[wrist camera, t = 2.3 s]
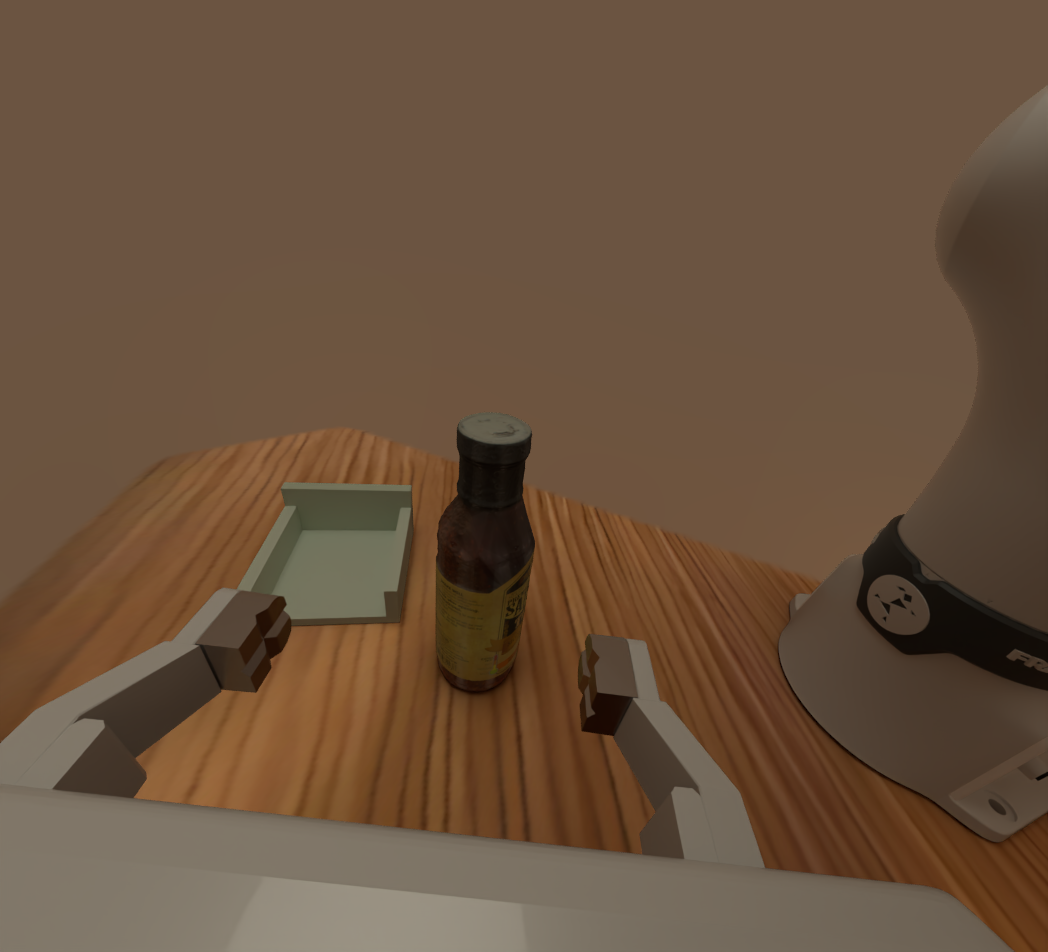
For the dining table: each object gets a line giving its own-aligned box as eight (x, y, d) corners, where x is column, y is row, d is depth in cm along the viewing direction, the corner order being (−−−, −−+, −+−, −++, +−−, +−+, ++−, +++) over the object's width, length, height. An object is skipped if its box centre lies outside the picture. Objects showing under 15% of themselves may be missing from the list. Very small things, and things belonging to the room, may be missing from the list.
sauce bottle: (513, 700, 30) (556, 469, 19) (426, 691, 29) (420, 453, 19) (517, 623, 35) (553, 411, 24) (445, 616, 35) (448, 398, 24)
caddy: (413, 530, 43) (411, 485, 40) (399, 622, 34) (395, 573, 31) (296, 529, 41) (284, 482, 38) (247, 627, 32) (226, 575, 29)
